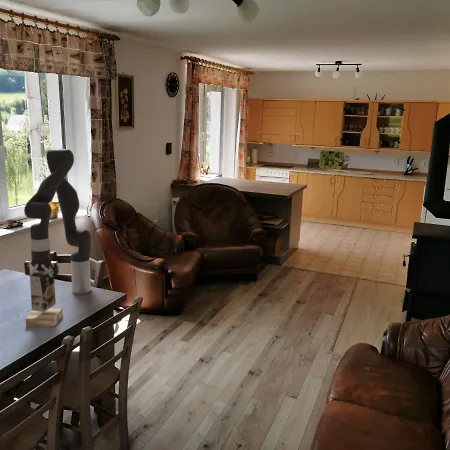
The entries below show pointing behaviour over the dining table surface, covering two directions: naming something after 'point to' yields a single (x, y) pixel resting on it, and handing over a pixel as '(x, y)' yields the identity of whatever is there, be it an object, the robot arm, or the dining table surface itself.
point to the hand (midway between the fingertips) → (42, 284)
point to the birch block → (44, 318)
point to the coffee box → (42, 291)
